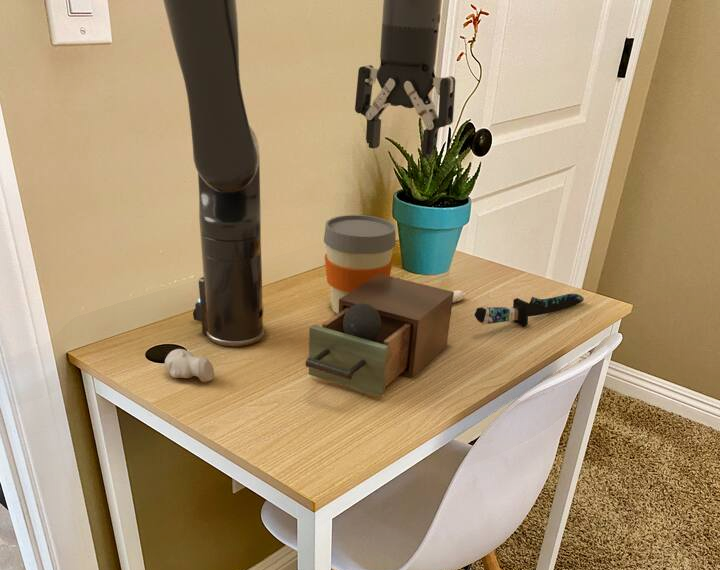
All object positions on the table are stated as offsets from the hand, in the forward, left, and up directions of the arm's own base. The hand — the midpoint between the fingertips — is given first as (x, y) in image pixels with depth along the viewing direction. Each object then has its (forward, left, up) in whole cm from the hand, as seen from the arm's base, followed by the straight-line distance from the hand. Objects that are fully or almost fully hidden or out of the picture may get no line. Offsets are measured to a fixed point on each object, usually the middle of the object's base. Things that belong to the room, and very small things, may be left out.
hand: (400, 152), depth 109 cm
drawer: (+2, -15, -29) cm, 33 cm away
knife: (+18, +24, -30) cm, 43 cm away
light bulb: (+2, -14, -28) cm, 31 cm away
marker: (0, +18, -30) cm, 35 cm away
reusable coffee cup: (-11, +10, -30) cm, 34 cm away
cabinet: (+2, -2, -30) cm, 30 cm away
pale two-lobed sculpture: (-19, -28, -30) cm, 45 cm away
